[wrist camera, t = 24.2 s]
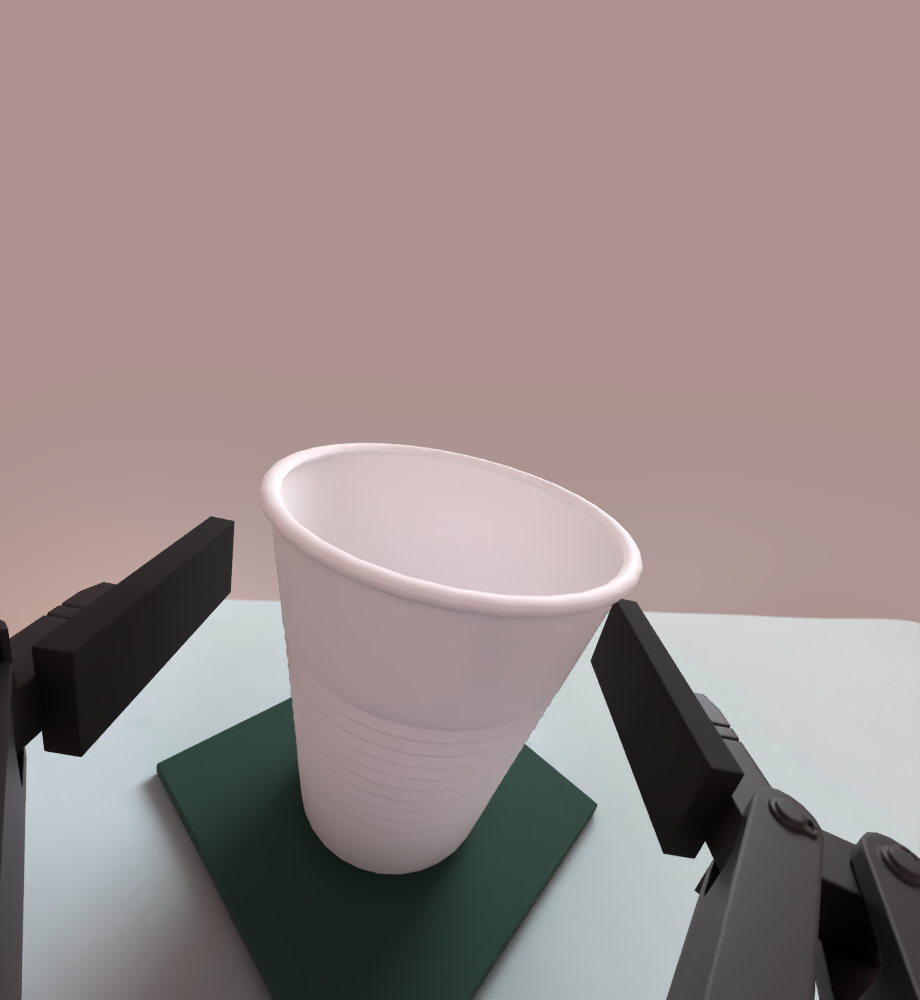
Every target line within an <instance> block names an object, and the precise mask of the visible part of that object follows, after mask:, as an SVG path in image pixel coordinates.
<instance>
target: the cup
mask: <svg viewBox="0 0 920 1000" xmlns="http://www.w3.org/2000/svg"><path fill="white" fill-rule="evenodd" d="M259 496H260V499H261V504H262V507H263V511H264V513H265V515H266V517H267V518H268V519H269V521H270V522H271V523H272V527H273V536H274V545H275V554H276V563H277V572H278V581H279V590H280V600H281V610H282V619H283V625H284V629H285V641H286V645H287V649H286V653H287V657H288V669H289V673H290V676H289V680H290V685H291V696H292V707H293V712H294V716H293V718H294V723H295V734H296V744H297V757H298V767H299V776H300V785H301V794H302V799H303V804H304V810H305V813H306V815H307V818H308V820H309V822H310V824H311V827H312V829H313V830H314V832H315V833H316V834H317V836H318V837H319V838H320V840H321V841H322V842H323V844H324V845H325V846H326V847H327V848H328V849H330V850H331V851H332V852H333V853H334V854H335V855H337V856H338V857H339V858H340V859H342V860H344V861H346V862H348V863H350V864H352V865H353V866H355V867H357V868H360V869H363V870H367V871H371V872H375V873H378V874H405V873H411V872H416V871H421V870H423V869H425V868H428V867H430V866H433V865H435V864H437V863H439V862H441V861H442V860H443V859H445V858H446V857H448V856H449V855H450V854H452V853H453V852H454V851H455V850H456V849H457V848H458V847H459V846H460V845H461V843H462V842H463V841H464V840H465V839H466V838H467V836H468V835H469V833H470V831H471V830H472V828H473V827H474V825H475V823H476V822H477V820H478V819H479V817H480V815H481V814H482V812H483V811H484V809H485V807H486V806H487V804H488V803H489V801H490V799H491V797H492V795H493V794H494V793H495V791H496V789H497V787H498V785H499V784H500V783H501V781H502V780H503V778H504V776H505V774H506V773H507V772H508V770H509V768H510V766H511V765H512V763H513V762H514V761H515V759H516V757H517V755H518V753H519V752H520V751H521V749H522V747H523V746H524V744H525V742H526V741H527V740H528V738H529V736H530V734H531V732H532V731H533V730H534V729H535V727H536V725H537V723H538V721H539V719H540V718H541V717H542V716H543V714H544V712H545V710H546V708H547V707H548V706H549V705H550V703H551V701H552V699H553V697H554V695H555V694H556V693H557V692H558V691H559V689H560V688H561V686H562V685H563V683H564V681H565V680H566V678H567V677H568V675H569V673H570V672H571V670H572V669H573V667H574V666H575V664H576V662H577V661H578V659H579V658H580V656H581V654H582V653H583V651H584V650H585V648H586V646H587V645H588V643H589V642H590V640H591V638H592V637H593V635H594V634H595V632H596V630H597V629H598V627H599V626H600V624H601V622H602V621H603V619H604V618H605V616H606V615H607V613H608V611H609V610H610V608H611V607H612V605H613V604H614V603H617V602H618V601H619V600H620V599H622V598H623V597H624V596H625V595H626V594H627V593H629V592H630V591H631V590H632V589H633V588H635V587H636V586H637V583H638V580H639V578H640V575H641V572H642V569H643V566H642V560H641V555H640V550H639V549H638V547H637V545H636V544H635V542H634V540H633V539H632V537H631V536H630V535H629V533H628V532H627V531H626V530H625V529H624V528H623V527H622V526H621V525H620V524H619V523H618V522H617V521H616V520H614V519H613V518H612V517H610V516H609V515H608V514H606V513H605V512H604V511H602V510H601V509H600V508H598V507H597V506H595V505H593V504H592V503H590V502H588V501H587V500H585V499H583V498H581V497H580V496H578V495H576V494H574V493H572V492H570V491H568V490H566V489H564V488H562V487H560V486H558V485H556V484H553V483H551V482H548V481H546V480H544V479H541V478H539V477H536V476H534V475H531V474H528V473H526V472H523V471H520V470H517V469H514V468H511V467H508V466H505V465H501V464H498V463H495V462H491V461H488V460H484V459H480V458H476V457H472V456H467V455H463V454H458V453H453V452H448V451H443V450H438V449H431V448H423V447H416V446H409V445H396V444H385V443H349V444H335V445H328V446H321V447H314V448H311V449H307V450H304V451H300V452H297V453H294V454H291V455H290V456H288V457H286V458H284V459H282V460H280V461H278V462H276V463H275V464H274V465H273V466H272V468H270V469H269V470H268V471H267V472H266V473H265V475H264V477H263V480H262V483H261V487H260V490H259Z"/></svg>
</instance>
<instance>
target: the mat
mask: <svg viewBox="0 0 920 1000" xmlns="http://www.w3.org/2000/svg"><path fill="white" fill-rule="evenodd" d="M293 716H294V712H293V707H292V698H290V699H288V700H286V701H283V702H281V703H279V704H277V705H275V706H273V707H271V708H269V709H267V710H265V711H263V712H261V713H259V714H257V715H255V716H253V717H251V718H249V719H247V720H245V721H243V722H241V723H239V724H237V725H235V726H233V727H231V728H229V729H227V730H225V731H223V732H221V733H219V734H217V735H215V736H213V737H211V738H209V739H207V740H205V741H203V742H201V743H199V744H196V745H194V746H192V747H190V748H188V749H186V750H184V751H182V752H180V753H178V754H176V755H174V756H172V757H170V758H168V759H166V760H164V761H162V762H160V763H158V764H157V774H158V776H159V777H160V779H161V781H162V783H163V785H164V787H165V789H166V791H167V793H168V795H169V797H170V799H171V801H172V803H173V805H174V807H175V809H176V811H177V813H178V815H179V816H180V818H181V820H182V822H183V824H184V826H185V828H186V830H187V832H188V834H189V836H190V838H191V840H192V842H193V844H194V846H195V848H196V850H197V852H198V853H199V855H200V857H201V859H202V861H203V863H204V865H205V867H206V869H207V871H208V873H209V875H210V877H211V879H212V881H213V883H214V885H215V887H216V889H217V891H218V892H219V894H220V896H221V898H222V900H223V902H224V904H225V906H226V908H227V910H228V912H229V914H230V916H231V918H232V920H233V922H234V924H235V926H236V928H237V930H238V931H239V933H240V935H241V937H242V939H243V941H244V943H245V945H246V947H247V949H248V951H249V953H250V955H251V957H252V959H253V961H254V963H255V965H256V967H257V969H258V970H259V972H260V974H261V976H262V978H263V980H264V982H265V984H266V986H267V988H268V990H269V992H270V994H271V996H272V998H273V1000H471V999H472V997H473V995H474V994H475V992H476V991H477V989H478V988H479V986H480V985H481V983H482V982H483V980H484V979H485V977H486V976H487V974H488V973H489V971H490V970H491V968H492V967H493V965H494V964H495V962H496V961H497V959H498V957H499V956H500V954H501V953H502V951H503V950H504V948H505V947H506V945H507V944H508V942H509V941H510V939H511V938H512V936H513V935H514V933H515V932H516V930H517V929H518V927H519V926H520V924H521V922H522V921H523V919H524V918H525V916H526V915H527V913H528V912H529V910H530V909H531V907H532V906H533V904H534V903H535V901H536V900H537V898H538V897H539V895H540V894H541V892H542V891H543V889H544V888H545V886H546V884H547V883H548V881H549V880H550V878H551V877H552V875H553V874H554V872H555V871H556V869H557V868H558V866H559V865H560V863H561V862H562V860H563V859H564V857H565V856H566V854H567V853H568V851H569V850H570V848H571V846H572V845H573V843H574V842H575V840H576V839H577V837H578V836H579V834H580V833H581V831H582V830H583V828H584V827H585V825H586V824H587V822H588V821H589V819H590V818H591V816H592V815H593V813H594V811H595V809H596V807H597V804H596V803H595V802H594V801H593V800H592V799H590V798H589V797H588V796H587V795H586V794H584V793H583V792H582V791H581V790H580V789H578V788H577V787H576V786H575V785H574V784H572V783H571V782H570V781H569V780H568V779H566V778H565V777H564V776H563V775H562V774H560V773H559V772H558V771H557V770H555V769H554V768H553V767H552V766H551V765H549V764H548V763H547V762H546V761H545V760H543V759H542V758H541V757H540V756H539V755H537V754H536V753H535V752H534V751H533V750H531V749H530V748H529V747H528V746H527V745H525V744H524V746H523V747H522V749H521V751H520V752H519V753H518V755H517V757H516V759H515V761H514V762H513V763H512V765H511V766H510V768H509V770H508V772H507V773H506V774H505V776H504V778H503V780H502V781H501V783H500V784H499V785H498V787H497V789H496V791H495V793H494V794H493V795H492V797H491V799H490V801H489V803H488V804H487V806H486V807H485V809H484V811H483V812H482V814H481V815H480V817H479V819H478V820H477V822H476V823H475V825H474V827H473V828H472V830H471V831H470V833H469V835H468V836H467V838H466V839H465V840H464V841H463V842H462V843H461V845H460V846H459V847H458V848H457V849H456V850H455V851H454V852H453V853H452V854H450V855H449V856H448V857H446V858H445V859H443V860H442V861H441V862H439V863H437V864H435V865H433V866H430V867H428V868H425V869H423V870H421V871H416V872H411V873H405V874H378V873H375V872H371V871H367V870H363V869H360V868H357V867H355V866H353V865H352V864H350V863H348V862H346V861H344V860H342V859H340V858H339V857H338V856H337V855H335V854H334V853H333V852H332V851H331V850H330V849H328V848H327V847H326V846H325V845H324V844H323V842H322V841H321V840H320V838H319V837H318V836H317V834H316V833H315V832H314V830H313V829H312V827H311V824H310V822H309V820H308V818H307V815H306V813H305V810H304V804H303V799H302V794H301V785H300V776H299V767H298V757H297V744H296V734H295V723H294V718H293Z"/></svg>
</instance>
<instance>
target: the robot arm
mask: <svg viewBox="0 0 920 1000" xmlns="http://www.w3.org/2000/svg"><path fill="white" fill-rule="evenodd" d="M233 536H234V521H231V520H226V519H221V518H216V517H209V518H208V519H207V520H205V521H204V522H203V523H201V524H200V525H198V526H197V527H196V528H194V529H193V530H191V531H190V532H189V533H187V534H186V535H184V536H183V537H182V538H180V539H179V540H178V541H176V542H175V543H173V544H172V545H171V546H169V547H168V548H167V549H165V550H164V551H162V552H161V553H160V554H158V555H157V556H156V557H154V558H153V559H151V560H150V561H149V562H147V563H146V564H144V565H143V566H142V567H140V568H139V569H138V570H136V571H135V572H133V573H132V574H131V575H129V576H128V577H127V578H125V579H124V580H123V581H121V582H120V583H118V584H117V585H116V584H111V583H105V582H103V583H100V584H97V585H95V586H92V587H90V588H87V589H84V590H82V591H80V592H78V593H77V594H75V595H74V596H72V597H71V598H69V599H68V600H66V601H65V602H63V603H62V605H61V606H57V607H56V608H54V609H53V610H51V611H50V612H48V614H47V616H42V617H41V618H39V619H38V620H36V621H35V622H33V623H32V624H31V625H29V626H27V627H26V628H25V629H23V630H22V631H20V632H19V633H17V634H16V635H14V636H13V637H11V638H10V639H9V633H8V628H7V626H6V623H5V622H3V621H2V620H0V1000H21V993H22V946H23V898H24V851H25V804H26V750H25V746H26V745H27V744H28V743H29V742H30V741H31V740H32V739H34V738H35V737H36V736H37V735H38V734H39V733H40V732H41V731H42V735H43V743H44V751H47V752H53V753H59V754H65V755H71V756H77V757H82V756H83V755H84V754H85V753H86V752H87V750H88V749H89V748H90V747H91V746H92V745H93V744H94V743H95V742H96V740H97V739H98V738H99V737H100V736H101V735H102V734H103V733H104V732H105V731H106V729H107V728H108V727H109V726H110V725H111V724H112V723H113V722H114V721H115V719H116V718H117V717H118V716H119V715H120V714H121V713H122V712H123V711H124V710H125V708H126V707H127V706H128V705H129V704H130V703H131V702H132V701H133V700H134V698H135V697H136V696H137V695H138V694H139V693H140V692H141V691H142V690H143V688H144V687H145V686H146V685H147V684H148V683H149V682H150V681H151V680H152V679H153V677H154V676H155V675H156V674H157V673H158V672H159V671H160V670H161V669H162V667H163V666H164V665H165V664H166V663H167V662H168V661H169V660H170V659H171V658H172V656H173V655H174V654H175V653H176V652H177V651H178V650H179V649H180V648H181V646H182V645H183V644H184V643H185V642H186V641H187V640H188V639H189V638H190V637H191V635H192V634H193V633H194V632H195V631H196V630H197V629H198V628H199V627H200V625H201V624H202V623H203V622H204V621H205V620H206V619H207V618H208V617H209V615H210V614H211V613H212V612H213V611H214V610H215V609H216V608H217V607H218V606H219V604H220V603H221V602H222V601H223V600H224V599H225V598H226V597H227V595H228V594H229V593H230V592H231V576H232V557H233V538H234V537H233ZM591 663H592V666H593V669H594V671H595V674H596V677H597V679H598V682H599V685H600V687H601V690H602V692H603V695H604V698H605V700H606V703H607V706H608V708H609V711H610V714H611V716H612V719H613V722H614V724H615V727H616V730H617V732H618V735H619V737H620V740H621V743H622V745H623V748H624V751H625V753H626V756H627V759H628V761H629V764H630V767H631V769H632V772H633V775H634V777H635V780H636V782H637V785H638V788H639V790H640V793H641V796H642V798H643V801H644V804H645V806H646V809H647V812H648V814H649V817H650V820H651V822H652V825H653V827H654V830H655V833H656V835H657V838H658V841H659V843H660V846H661V849H662V851H663V854H669V855H675V856H681V857H687V858H693V859H695V857H696V856H697V854H698V852H699V851H700V849H701V847H702V846H703V844H704V842H705V841H706V843H707V845H708V848H709V850H710V852H711V854H712V856H713V858H714V859H713V861H712V863H711V864H710V866H709V867H708V869H707V871H706V872H705V874H704V876H703V877H702V879H701V880H700V882H699V884H698V885H697V887H696V889H695V891H696V892H697V893H698V894H700V895H699V898H698V901H697V904H696V907H695V910H694V913H693V917H692V920H691V923H690V926H689V929H688V932H687V936H686V939H685V942H684V945H683V948H682V951H681V955H680V958H679V961H678V964H677V967H676V970H675V974H674V977H673V980H672V983H671V986H670V989H669V993H668V996H667V999H666V1000H814V997H815V981H816V985H817V990H818V995H819V1000H920V858H918V857H917V856H916V855H915V854H914V853H912V852H911V851H910V850H909V849H907V848H906V847H904V846H903V845H901V844H899V843H898V842H896V841H894V840H893V839H891V838H889V837H887V836H884V835H881V834H879V833H874V832H867V833H866V834H864V835H863V836H862V838H861V839H860V840H859V841H858V843H857V844H856V845H855V844H852V843H850V842H848V841H846V840H843V839H841V838H839V837H837V836H835V835H832V834H830V833H828V832H826V831H823V830H822V829H821V828H820V826H819V824H818V823H817V821H816V820H815V818H814V817H813V816H812V815H811V814H810V813H809V812H808V810H807V809H806V808H805V807H804V806H803V805H801V804H800V803H799V802H797V801H796V800H795V799H793V798H792V797H791V796H789V795H787V794H785V793H783V792H781V791H780V790H777V789H774V788H772V787H771V786H770V784H769V783H768V781H767V780H766V778H765V777H764V775H763V774H762V772H761V771H760V769H759V768H758V766H757V765H756V763H755V762H754V760H753V759H752V757H751V756H750V754H749V753H748V751H747V750H746V748H745V747H744V745H743V744H742V742H739V738H738V736H737V735H736V733H735V732H734V730H733V729H731V728H730V725H729V723H728V722H727V720H726V719H725V717H724V716H723V714H722V713H721V711H720V710H719V709H718V708H717V707H716V706H715V705H714V704H713V703H712V702H711V701H710V700H709V699H708V698H707V697H706V696H705V695H703V694H698V693H693V691H692V690H691V688H690V686H689V685H688V683H687V682H686V680H685V678H684V677H683V675H682V674H681V672H680V671H679V669H678V667H677V666H676V664H675V663H674V661H673V659H672V658H671V656H670V655H669V653H668V651H667V650H666V648H665V647H664V645H663V644H662V642H661V640H660V639H659V637H658V636H657V634H656V632H655V631H654V629H653V628H652V626H651V624H650V623H649V621H648V620H647V618H646V617H645V615H644V613H643V612H642V610H641V609H640V607H639V605H638V604H637V602H634V601H630V600H624V599H620V600H619V601H618V602H617V603H614V604H613V605H612V607H611V610H610V612H609V615H608V617H607V620H606V623H605V625H604V628H603V630H602V633H601V635H600V638H599V641H598V643H597V646H596V648H595V651H594V653H593V656H592V659H591Z"/></svg>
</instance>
